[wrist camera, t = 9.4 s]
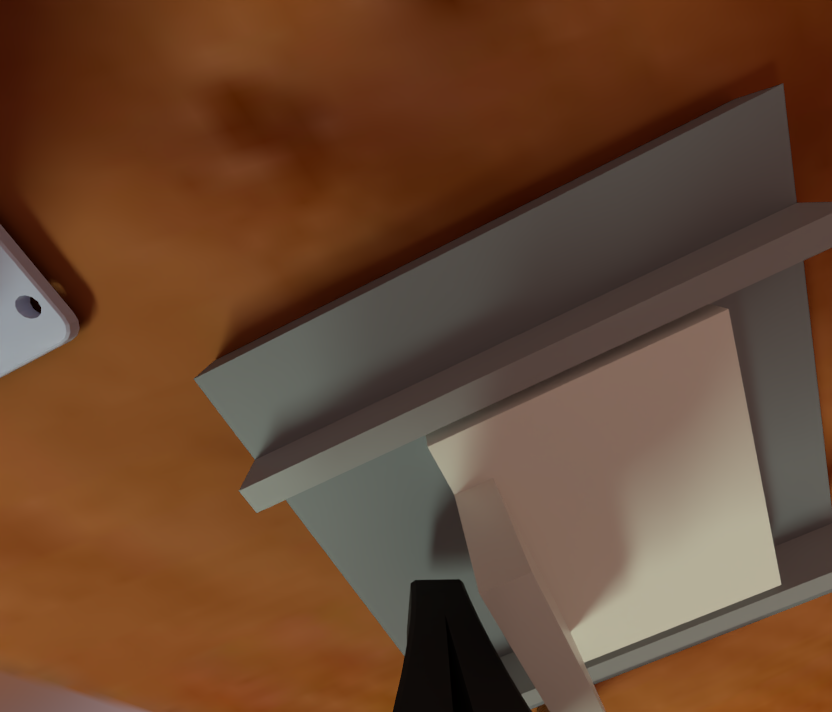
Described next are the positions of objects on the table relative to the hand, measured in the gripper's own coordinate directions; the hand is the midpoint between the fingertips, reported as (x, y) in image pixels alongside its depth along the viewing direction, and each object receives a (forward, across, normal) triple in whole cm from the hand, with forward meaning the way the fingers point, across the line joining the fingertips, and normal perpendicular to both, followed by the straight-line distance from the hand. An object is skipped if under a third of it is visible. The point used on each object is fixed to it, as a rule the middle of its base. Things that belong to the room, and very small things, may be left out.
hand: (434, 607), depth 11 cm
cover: (+1, -5, -3) cm, 6 cm away
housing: (+2, -4, -2) cm, 5 cm away
